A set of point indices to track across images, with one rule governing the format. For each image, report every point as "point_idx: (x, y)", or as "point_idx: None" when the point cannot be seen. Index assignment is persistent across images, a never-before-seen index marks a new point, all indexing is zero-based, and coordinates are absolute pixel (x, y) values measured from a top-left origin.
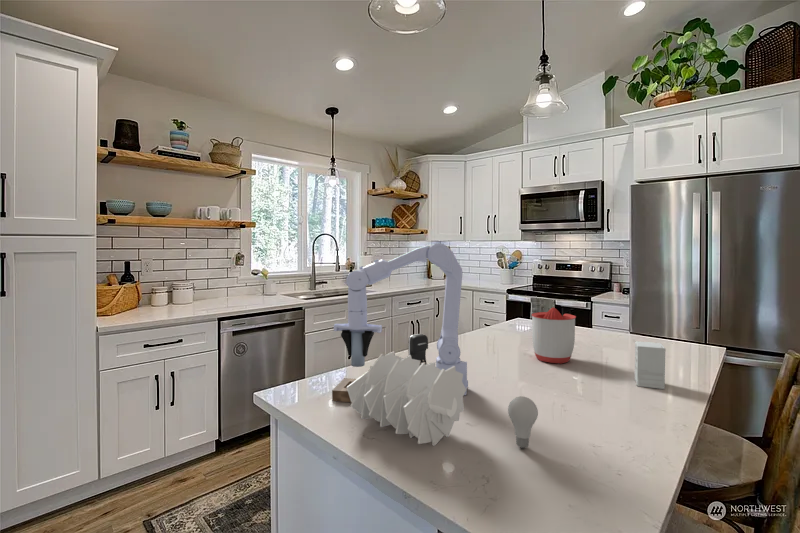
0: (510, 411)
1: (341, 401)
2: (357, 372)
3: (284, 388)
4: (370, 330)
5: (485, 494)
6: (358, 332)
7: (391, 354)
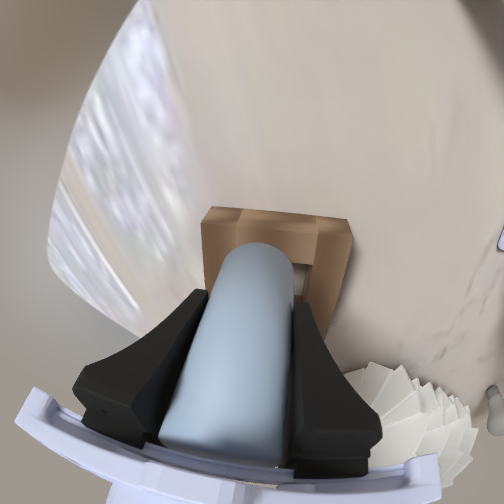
0: (488, 428)
1: None
2: (208, 14)
3: (62, 231)
4: (339, 484)
5: None
6: (231, 461)
7: None
